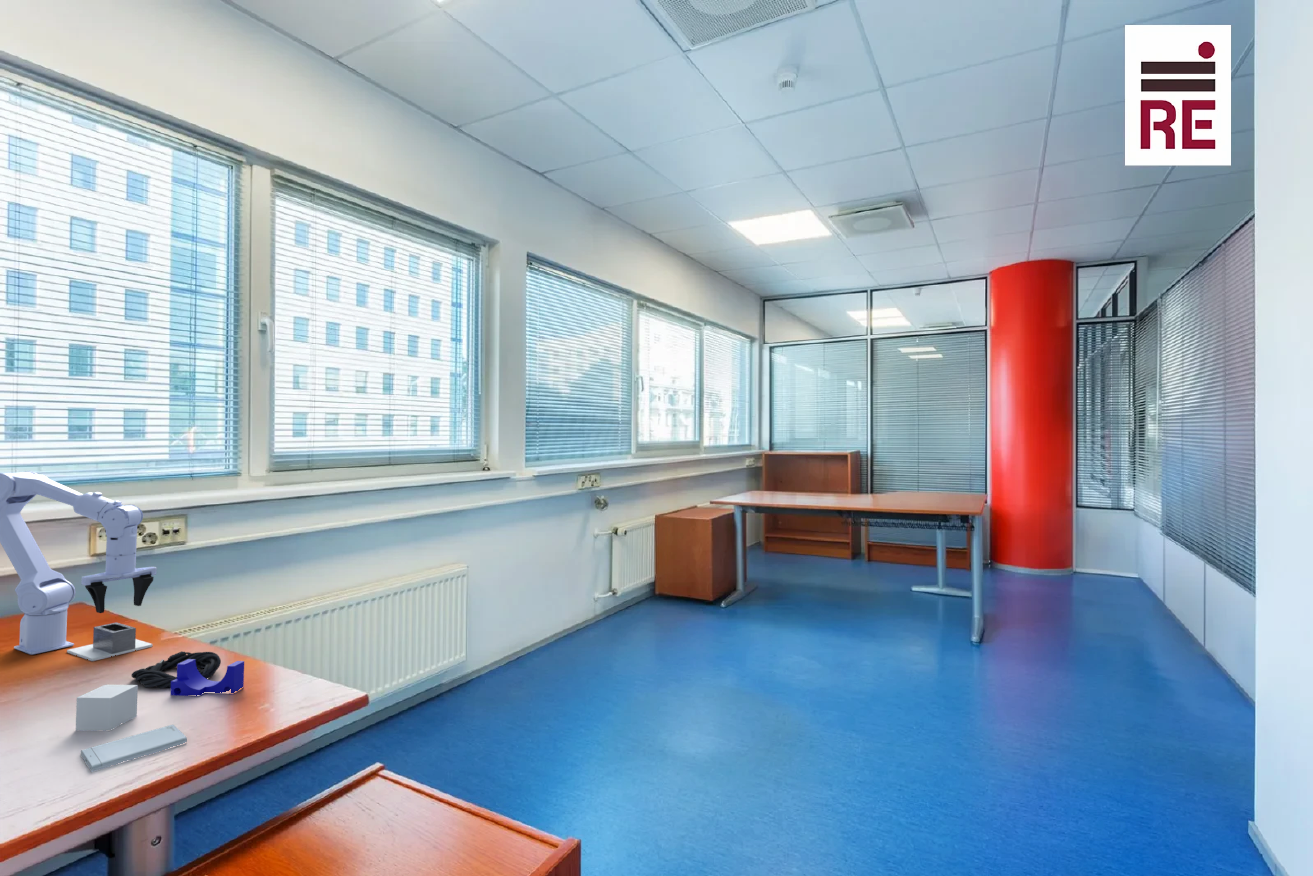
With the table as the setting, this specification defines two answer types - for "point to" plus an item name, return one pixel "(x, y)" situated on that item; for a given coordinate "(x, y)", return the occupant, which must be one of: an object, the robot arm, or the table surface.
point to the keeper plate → (97, 654)
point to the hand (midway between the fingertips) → (119, 608)
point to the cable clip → (196, 684)
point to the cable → (161, 680)
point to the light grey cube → (106, 707)
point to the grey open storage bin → (114, 637)
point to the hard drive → (132, 747)
